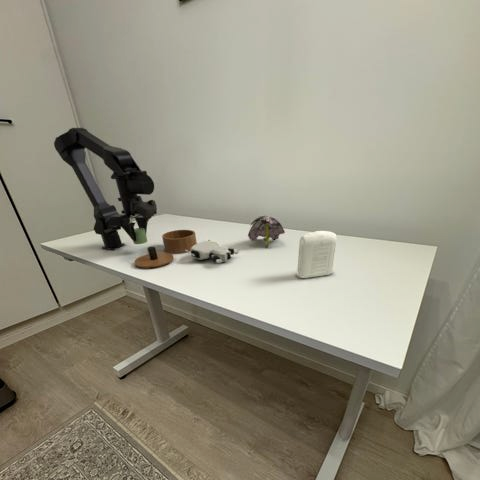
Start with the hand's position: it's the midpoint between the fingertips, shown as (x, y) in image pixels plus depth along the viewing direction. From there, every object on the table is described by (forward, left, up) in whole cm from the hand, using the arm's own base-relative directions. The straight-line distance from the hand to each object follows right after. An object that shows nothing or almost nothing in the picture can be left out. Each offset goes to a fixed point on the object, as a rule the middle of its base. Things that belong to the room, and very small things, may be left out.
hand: (139, 239), depth 102 cm
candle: (0, 0, -1) cm, 1 cm away
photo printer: (+65, -2, -5) cm, 65 cm away
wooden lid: (+11, -7, -4) cm, 14 cm away
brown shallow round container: (+12, +8, -5) cm, 15 cm away
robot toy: (+30, +1, -5) cm, 30 cm away
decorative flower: (+42, +21, -5) cm, 47 cm away
